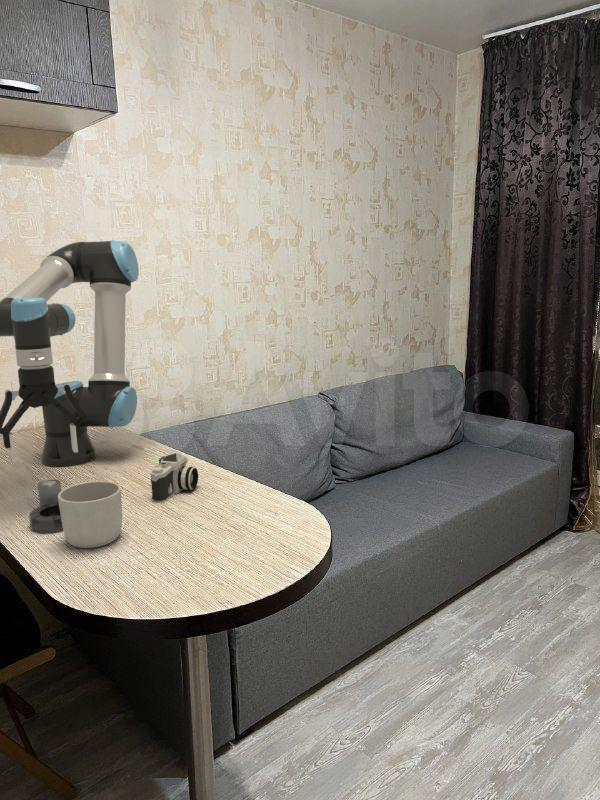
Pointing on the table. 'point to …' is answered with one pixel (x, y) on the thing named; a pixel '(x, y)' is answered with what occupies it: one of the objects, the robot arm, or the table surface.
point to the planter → (91, 513)
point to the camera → (172, 477)
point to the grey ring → (46, 519)
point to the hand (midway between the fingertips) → (45, 456)
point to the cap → (49, 491)
